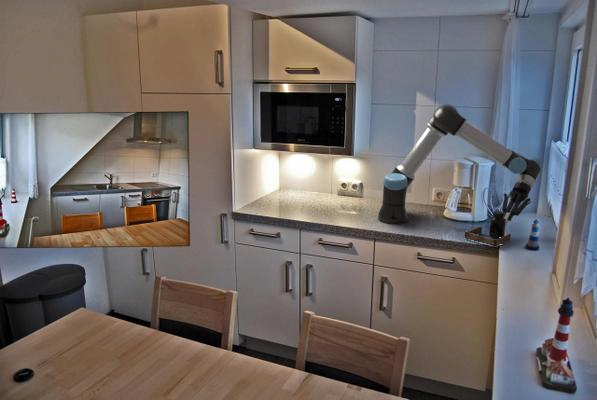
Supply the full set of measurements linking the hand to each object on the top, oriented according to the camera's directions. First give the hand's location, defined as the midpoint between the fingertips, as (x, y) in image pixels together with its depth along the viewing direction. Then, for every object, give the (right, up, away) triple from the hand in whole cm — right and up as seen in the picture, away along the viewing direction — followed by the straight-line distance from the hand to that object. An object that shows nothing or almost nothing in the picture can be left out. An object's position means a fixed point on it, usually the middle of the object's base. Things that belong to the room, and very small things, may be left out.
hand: (503, 225), depth 222 cm
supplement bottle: (-4, -6, 0) cm, 7 cm away
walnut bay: (-10, -7, -6) cm, 13 cm away
